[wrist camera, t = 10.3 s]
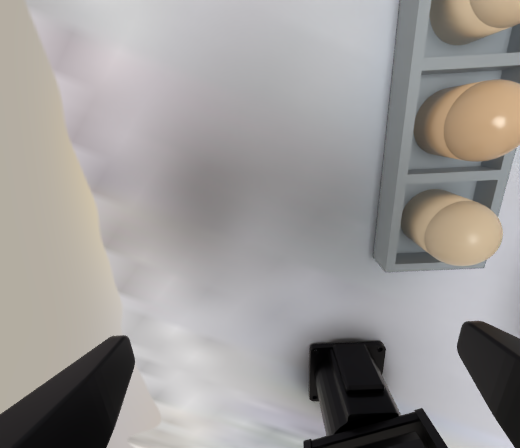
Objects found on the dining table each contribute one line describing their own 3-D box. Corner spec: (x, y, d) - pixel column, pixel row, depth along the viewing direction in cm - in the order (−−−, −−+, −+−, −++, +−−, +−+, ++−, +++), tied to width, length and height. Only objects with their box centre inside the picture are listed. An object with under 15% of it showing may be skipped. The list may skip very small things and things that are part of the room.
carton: (462, 253, 21) (529, 297, 16) (373, 257, 21) (410, 302, 16) (538, -76, 14) (701, -193, 9) (406, -67, 14) (492, -178, 9)
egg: (470, 153, 18) (546, 165, 13) (408, 156, 18) (462, 168, 13) (486, 85, 16) (577, 70, 12) (418, 88, 16) (483, 74, 12)
